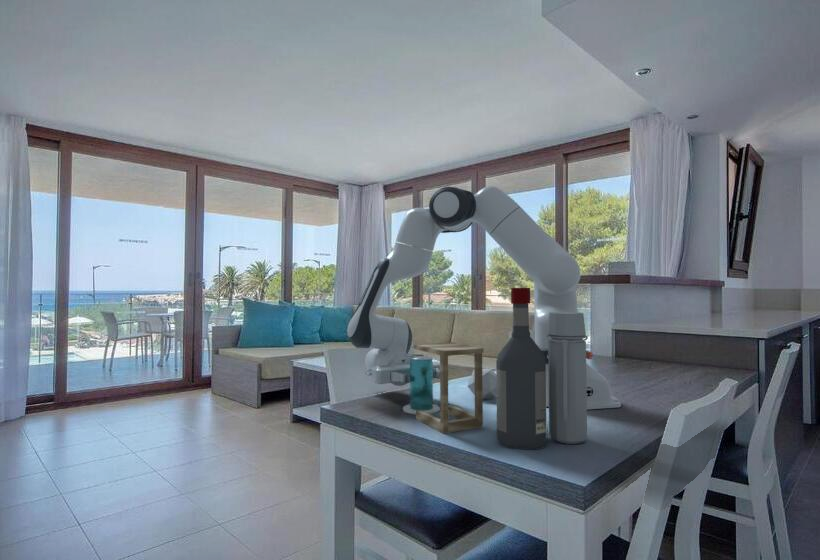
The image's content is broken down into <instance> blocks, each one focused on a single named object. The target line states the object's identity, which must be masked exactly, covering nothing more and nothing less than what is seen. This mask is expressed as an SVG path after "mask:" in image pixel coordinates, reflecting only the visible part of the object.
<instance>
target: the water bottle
mask: <svg viewBox="0 0 820 560" xmlns="http://www.w3.org/2000/svg"><path fill="white" fill-rule="evenodd" d="M585 324H586V323H585V314H584V312H579V311H578V312H549V317H548V328H547V334H549V335H547V336H546V338H547V339H548V375H549V407H548V434H549V436H550V437H551V439H552V440H553V441H555V442H558V443H562V444H566V445H577V444H581V443H584V442H585V441H586V440H587V439H588V415H587V414H588V410H587V385H586V363H587V358H586V351H587V340H589V339H588V338H589V337H588V335H587V333H586V325H585ZM548 337H550V338H551V339H550V338H548Z"/></svg>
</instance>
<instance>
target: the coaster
mask: <svg viewBox="0 0 820 560" xmlns="http://www.w3.org/2000/svg"><path fill="white" fill-rule="evenodd" d="M402 411H403V412H404V413H406V414H409V415H412V416H413V415H414V416H416V410H413V409H411V408H410V403H408V404H406V405H404V406H403V408H402ZM423 411H424V412H426V413H428V414H430V415H435V414H437V413H439V412H440V406H439V405H437V404H435V403H433V408H432V409H430V410H423Z"/></svg>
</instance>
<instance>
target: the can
mask: <svg viewBox="0 0 820 560" xmlns="http://www.w3.org/2000/svg"><path fill="white" fill-rule="evenodd" d="M433 359H434V358H432V356H428V357H411V358H410V383H409V404H410V408H411V409H413V410H422V411H423V410H430V409H432V408H433V404H434V389H433V387H434V383H433V382H434V378H433Z"/></svg>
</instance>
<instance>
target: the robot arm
mask: <svg viewBox="0 0 820 560" xmlns="http://www.w3.org/2000/svg"><path fill="white" fill-rule="evenodd" d="M431 195H432V196H431V197H430V200H429V201H428V208H424V207H414V208H411V209H409V210H408V211H407V212H406V214H405V215H404V218H403V219H402V221H401V224H400V227H399V228H398V229H399V230H398V233H397V235H396V239H395V242H394V245H393V248H392V250H390V252H389V254H388V255H387V256H386V257H384V258H383V257H382V258H381V259H380V260H379V261H378V263H377V264H376V266H375V268H374V269H373V272H372V274H371V276H370V278H369V280H368V283H367V285H366V287H365V289H364V292H363V294H362V296H361V298H360V299H359V303H358V305H357V308H356V309H355V310H354V313H353V314H352V316H351V317H350V320H349V321H348V324H347V329H346V335H347V339H348V340H349V341H350V343H351V344H352V345H353V346H354V347H355V348H357V349H370V350H369V351H368V352H367V353H366V355H365V361H364V362H365V366H366V368H367V370H365V372H364V374H365V375H367V376H368V377H369V376H370V380H371V381H372V382H373V383H374V384H377V385H384V384H391V385H394V386H398V387H401V386H405V385H407V384H410V358H411V357H429V356H428V355H426V354H413V353H412V354H411V353H409V352H410V351H411V350H410V349H411V347H412V342H413V331H412V330H411V326H410V324H409V323H408V321H406V320H405V319H404V318H398V317H393V316H385V315H381V314H375V311H376V310H377V307H378V305H379V303H380V301H381V298H382V296H383V293H384V291H385V290H386V288H387V287H388V286H389V285H390V284H392V283H394V282H397V281H401V280H406V279H412V278H415V277H418V276H419V275H421V274H423V273H425V271H426V270H427V269H428V267H429V266H430V264H431V260H432V257H433V252H434V250H435V249H434V248H435V244H436V242H437V239H438V236H439V235H440V234H441V233H442V234H445V233H446V234H449V233H459V232H460V233H461V232H464V231H466V230H467V229H469V227H471V226H472V225H473V223H475V224H478V225H479V226H481V228H483V230H484V231H485V232H486V233H487V234H488V235H489V236H490V237H491V238H492V239H493V240H494V242H495V243H496V244H498V245H499V247H500V248H502V250H503V251H504V252H505V253H506V254H507V255H508V256H509V257H510V258H511V259H512V260H513V261H514V262H515V263H516V264H517V265H518V267H519V268H521V270H522V271H523V272H524V273H525V274H526V275H528V276H527V277H529V278H530V279H531V280H532V281H533V294H534V295H533V296H534V297H533V299H534V300H533V301H534V302H533V303H534V304H533V305H534V308H533V309H534V342H535V343H536V344H537V346H538V347H539V348H540V349H541V351H542V352H543V353H544V356H545V361H546V408H547V407H548V408H549V375H548V339H547V338H546V336H547V335H549V334H547V328H548V317H549V312H579V311H578V300H577V286H578V284H579V282H580V279H581V267H580V265H579V263H578V261H577V259H576V258H574V257H573V256H572V255H571V254H570V253H569V252H568V251H567V250H566V249H565V248H564V247H563V246H562V245H560V243H558V242H557V241H556V240H555V239H554V238H553V237H552V236H551V235H549V233H547V232H546V231H545V230H544V229H543V228H542V227H541V226H540V225H539V224H538V223H537V222H536V221H535V220H534V219H533V218H532V217H531V216H530V215H529V214H528V213H527V212H526V211H525V210H524V209H523V207H521V206H520V205H519V204H518V203H517V201H515V200H514V199H513V198H512V197H511V196H509V195H508V194H507V193H506V192H504V191H503V190H501V189H500V188H498V187H497V186H495V185H487V186H485V187H482V188H481V189H479V190H477V192H476V193H473V192H472V191H469V190H465V189H463V188H459V187H455V186H444V187H440V188H438V189H437V190H436V191H435V192H433V194H431ZM548 338H550V337H548ZM550 339H551V338H550ZM593 358H594V353H593V351H589V350H586V360H593ZM432 359H433V379H436V380H438V379H439V380H440V360H437V359H435V358H432ZM586 385H587V411H588V410H597V409H614V408H621V406H622V404H621V400H620V399H618V398H617V397H615V396H613V395H612V390H611V387H610V383H609V381H608V380H607V378H606V377H605V376H604V375H602V374H601V373H599V372H598V371H597V370H596V369H595V368H593V367H592V366H591V365H590V364H588V363H587V362H586Z"/></svg>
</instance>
